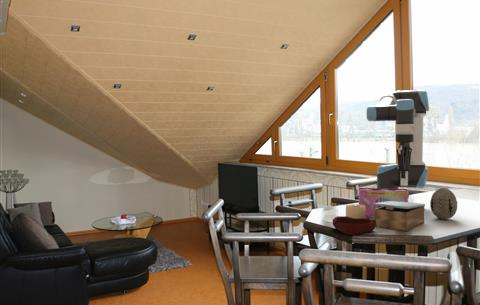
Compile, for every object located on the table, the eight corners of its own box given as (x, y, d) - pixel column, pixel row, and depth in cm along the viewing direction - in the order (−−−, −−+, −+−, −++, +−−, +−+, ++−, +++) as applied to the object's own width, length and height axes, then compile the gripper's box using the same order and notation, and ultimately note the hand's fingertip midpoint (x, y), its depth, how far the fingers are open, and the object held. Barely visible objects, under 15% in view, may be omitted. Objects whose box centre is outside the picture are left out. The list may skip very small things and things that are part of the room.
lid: (372, 207, 187) (373, 203, 187) (392, 204, 204) (393, 200, 204) (406, 211, 177) (406, 207, 177) (424, 207, 194) (425, 203, 194)
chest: (374, 227, 188) (374, 209, 187) (394, 219, 204) (394, 202, 204) (406, 231, 179) (406, 212, 178) (424, 223, 195) (424, 205, 195)
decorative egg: (462, 221, 198) (463, 189, 198) (438, 222, 197) (438, 189, 197) (448, 216, 210) (448, 186, 209) (425, 216, 209) (425, 186, 208)
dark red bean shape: (326, 234, 177) (326, 222, 176) (336, 226, 191) (336, 215, 191) (370, 238, 168) (370, 226, 168) (377, 230, 183) (377, 218, 183)
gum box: (408, 215, 213) (408, 188, 212) (410, 218, 205) (410, 190, 204) (358, 213, 219) (358, 187, 218) (358, 216, 211) (359, 189, 210)
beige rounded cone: (342, 220, 202) (342, 205, 202) (351, 217, 209) (351, 203, 208) (360, 223, 196) (360, 207, 196) (368, 220, 203) (368, 205, 202)
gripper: (407, 134, 185) (407, 187, 187) (418, 133, 195) (417, 184, 197) (390, 134, 190) (390, 186, 192) (401, 133, 200) (401, 183, 202)
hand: (404, 185), depth 194 cm, fingers closed
